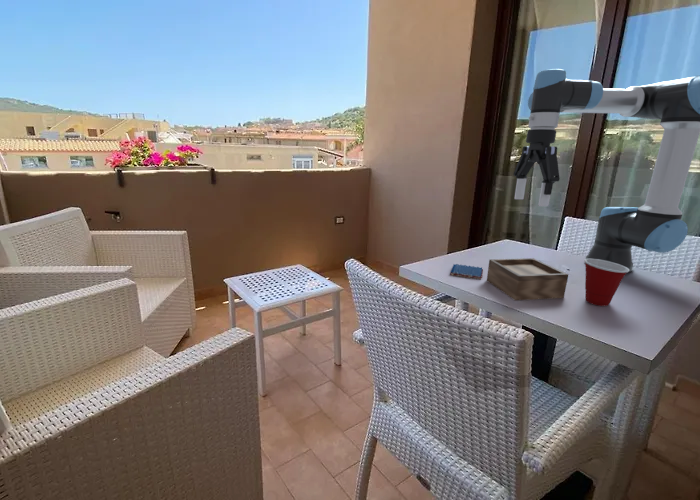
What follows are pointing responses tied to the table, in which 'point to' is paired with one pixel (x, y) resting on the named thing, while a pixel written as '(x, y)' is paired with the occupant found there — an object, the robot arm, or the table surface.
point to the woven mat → (467, 271)
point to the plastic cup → (602, 280)
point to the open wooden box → (526, 279)
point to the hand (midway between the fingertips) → (530, 202)
